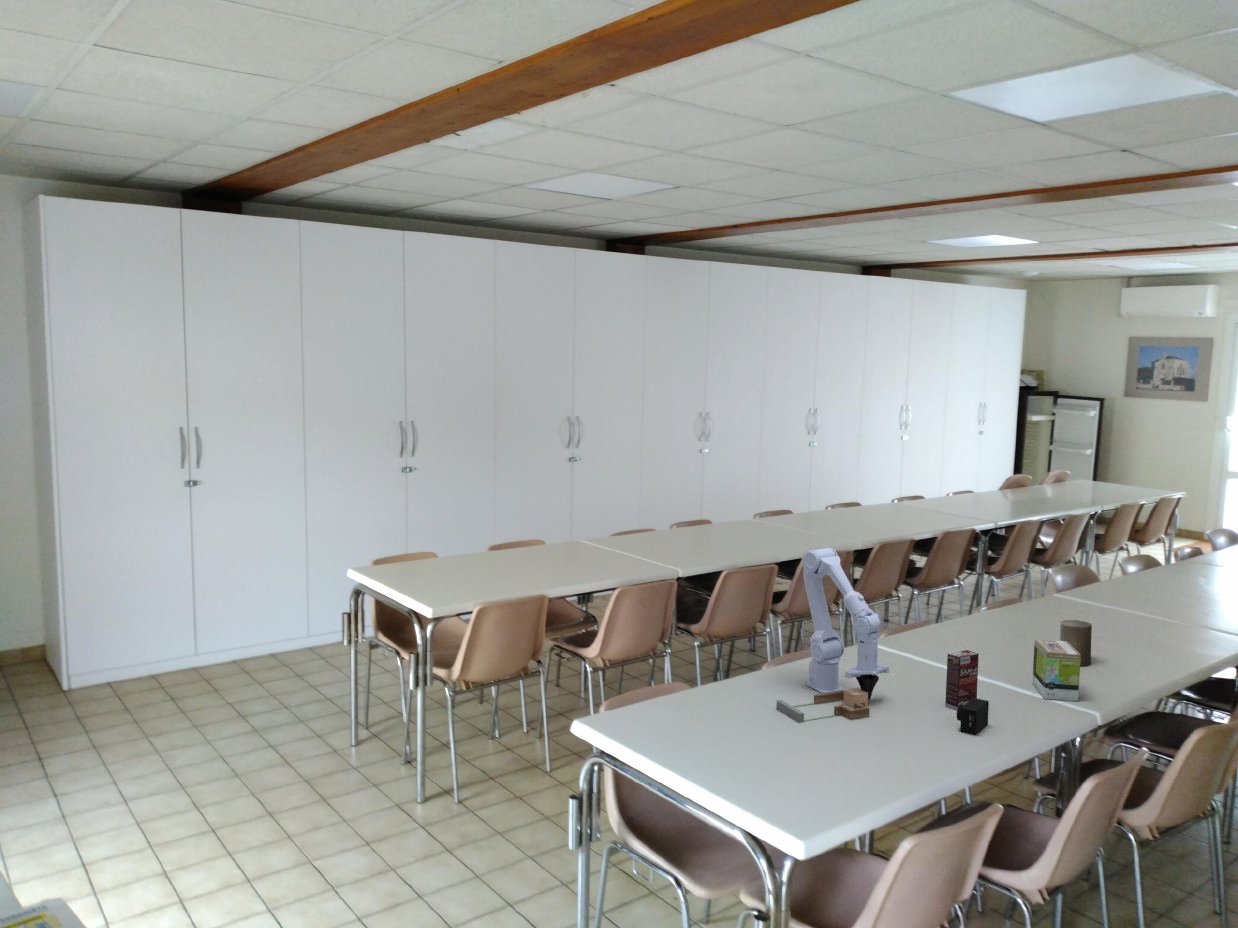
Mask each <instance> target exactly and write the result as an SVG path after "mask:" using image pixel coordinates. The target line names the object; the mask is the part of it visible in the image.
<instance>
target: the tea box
mask: <svg viewBox="0 0 1238 928" xmlns="http://www.w3.org/2000/svg"><path fill="white" fill-rule="evenodd" d="M1032 662H1033V664H1032V665H1033V667H1032V684H1033V686H1034V687H1035V689H1037V691H1038V692H1039V693H1040V695H1041V696H1042V697H1043V698H1044V700H1052V701H1053V700H1054V701H1068V702H1078V701H1079V693H1080V692H1079V691H1080V688H1079V687H1080V675H1081V666H1080V662H1081V654H1080V653H1079V652H1078V651H1077V650H1075V649H1074V648H1073V647H1072V646H1071V645H1070V644H1069V643H1068V642H1067V641H1060V640H1051V639H1050V640H1048V639H1034V647H1033V661H1032Z"/></svg>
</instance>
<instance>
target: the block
mask: <svg viewBox="0 0 1238 928" xmlns="http://www.w3.org/2000/svg"><path fill="white" fill-rule="evenodd" d="M862 701H863V702H865V706H866V707H868V706H869V700H868V693H867V692H865V691H863V690H861V688H860V687H853V688H852V687H851V688H847V689H844V700H843V704H844V705H847V706H849V708H850V707H851V709H854V703H856V702H862Z"/></svg>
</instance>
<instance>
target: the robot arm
mask: <svg viewBox="0 0 1238 928" xmlns="http://www.w3.org/2000/svg"><path fill="white" fill-rule="evenodd" d="M801 562H802V566H803V570H802V571H803V573H802V578H803V582H804V588H805V593H806V596H807V601H808V605H809V611H810V616H811V620H812V624H813V625H812V626H813V630H814V632H813V634H812V636H810V638H809V642H810V648H809V654H810V656H811V658H812V659H811V660H810V661H809V664H808V682H806V685H807V686H808V687H810V688H812V689H813V690H816V691H817V692H819V693H820V694H823V693H830V692H836V691H844V690H845V689H844V688H843V687H841V686H839V666H840V663H839V661H841V657H842V656H843V655H844V653H845V646H844V643H843V641H842V639H841V637H840V634H839V632H838V631H836V630H835V629H833V627H832V622H831V617H830V611H829V605H828V603H827V598H826V594H825V593H826V592H825V588H824V584H823V578H824V576H827V577H829V578H830V579H831V581H832V582H833V583H834V585H835V586H836V587H837V589H838V590H839V591H840V593H841V594H842V596H843V600H842V601H843V602H842V603H843V604H844V606H845V608H846V609H847V611H848V612H849V614H850V615H851V616H850V617H852V619H853V621H854V623H853V628H854V632H856V638H857V662H856V665H857V666H856V667H853V668H851V669H847V670H844V678H846V679H849V680H850V679H852V678H855V679H856V680H857V682H858V685H859V688H860V689H861V690H863V691H865V692H867V693H868V701H869V700H871V697H872V694H873V692H874V689H875V687H876V684H877V683H878V682H879V680H880V677H879V675H878V674H883V673H884V674H889V672H890V666H888V665H886V664H882V665H881V664H880V665H878V651H879V650H878V646H879V644H878V641H879V640H878V639H879V632H880V631H881V630H882V628H883V621H882V619H881V616H880V615H879V614H878V613H876V612H874V611H873V610H872V609H870V606H869V605H868V603H867V602H866V601H865V598H864V596H863V594H861V593H860V592H858V591H856V590H854V588H853V586H852V584H851V582H850V581H849V578H848V577H847V575H846V574H845V571H844V569H843V568H842V566H841V558H840V556H839V555H838V553H837V551H836V550H835V548H834V547H832V546H831V547H830V546H827V547H824V548H818V549H809V550H807V551H805V553H804V554H803V556H802V558H801Z"/></svg>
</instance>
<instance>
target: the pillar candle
mask: <svg viewBox="0 0 1238 928" xmlns="http://www.w3.org/2000/svg"><path fill="white" fill-rule="evenodd" d="M1092 629H1093V625H1092V623H1090V622H1087V621H1083V620H1077V619H1076V620H1075V619H1068V620H1067V619H1064V620H1061V621H1060V629H1059V632H1060V633H1059V641H1067V642H1068V643H1069V644H1070V645H1071V646H1072V647H1073V648H1074V649H1075V650H1077V651H1078V652H1079V653H1080V654H1081V662H1080V667H1089V666H1091V663H1092V662H1091V661H1092V660H1091V659H1092V632H1093V631H1092Z"/></svg>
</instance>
